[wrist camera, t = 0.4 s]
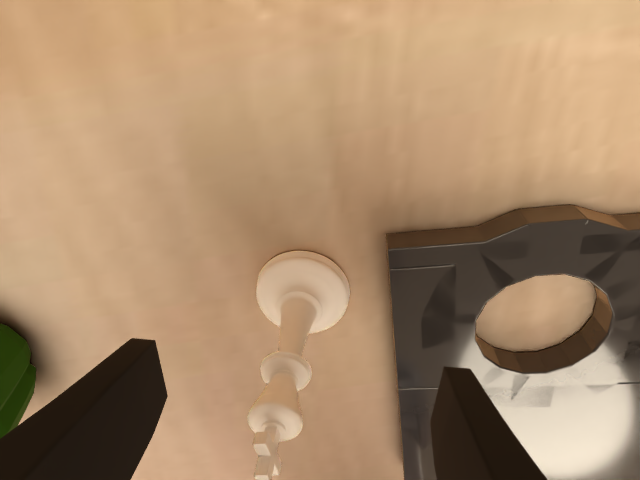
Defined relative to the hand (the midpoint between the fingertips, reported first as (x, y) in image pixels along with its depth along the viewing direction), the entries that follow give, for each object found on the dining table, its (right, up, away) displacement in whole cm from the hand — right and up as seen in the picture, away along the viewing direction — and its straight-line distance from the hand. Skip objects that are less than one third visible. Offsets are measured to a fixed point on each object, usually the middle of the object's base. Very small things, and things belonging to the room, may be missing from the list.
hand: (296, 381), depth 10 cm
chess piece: (0, +1, +11) cm, 11 cm away
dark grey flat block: (+12, -3, +12) cm, 18 cm away
